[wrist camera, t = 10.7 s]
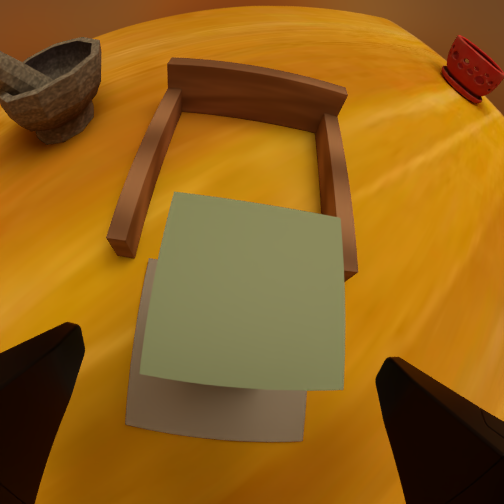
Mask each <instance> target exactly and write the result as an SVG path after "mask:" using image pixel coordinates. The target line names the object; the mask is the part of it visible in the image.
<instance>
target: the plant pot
mask: <svg viewBox="0 0 504 504" xmlns="http://www.w3.org/2000/svg"><path fill="white" fill-rule="evenodd" d="M465 59H468V60H469V63H466V62H465ZM474 67H475V68H476V69H475V68H474ZM442 73H443V76H444V77H445V79H446V80H447V81H448V83H449V84H450V85H451V86H452V87H453V88H454V89H455V90H456V91H457V92H459V93H460V94H461V95H462V96H464V97H465V98H466V99H468V100H470V101H472V102H474V103H480V102H482V97H481V96H484V95H487V94H489V93H490V92H492V91H493V90H494V89H495V88H496V87H497V86H498V85H499V84H500V83H501V81H502V80H503V79H504V72H503V71H502V70H501V69H500V67H499V66H498V65H497V64H496V63H495V62H494V61H493V60H492V59H491V58H490V57H489V56H488V55H487V54H485V53H484V52H483V51H482V50H481V49H480V48H478V47H477V46H476V45H475V44H473V43H472V42H470V41H469V40H468V39H466V38H465V37H463V36H460V35H458V36H457V37H456V39H455V41H454V43H453V45H452V47H451V49H450V51H449V54H448V59H447V66H443V67H442ZM485 73H486V75H485Z"/></svg>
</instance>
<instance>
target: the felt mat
mask: <svg viewBox="0 0 504 504" xmlns="http://www.w3.org/2000/svg"><path fill="white" fill-rule="evenodd" d="M157 262H158V260H157V259H150V258H149V262H148V266H147V271H146V276H145V280H144V285H143V291H142V296H141V301H140V307H139V312H138V318H137V324H136V331H135V337H134V344H133V351H132V359H131V367H130V376H129V385H128V395H127V407H126V421H125V424H126V425H130V426H134V427H139V428H144V429H148V430H154V431H159V432H165V433H170V434H177V435H184V436H191V437H199V438H208V439H219V440H232V441H254V442H292V441H303V432H304V420H305V408H306V395H307V391H301V390H266V389H249V388H236V387H225V386H215V385H206V384H198V383H191V382H184V381H177V380H171V379H165V378H159V377H154V376H148V375H143V374H139V373H140V365H141V357H142V349H143V342H144V335H145V328H146V322H147V315H148V309H149V304H150V298H151V292H152V287H153V282H154V277H155V272H156V267H157Z"/></svg>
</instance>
